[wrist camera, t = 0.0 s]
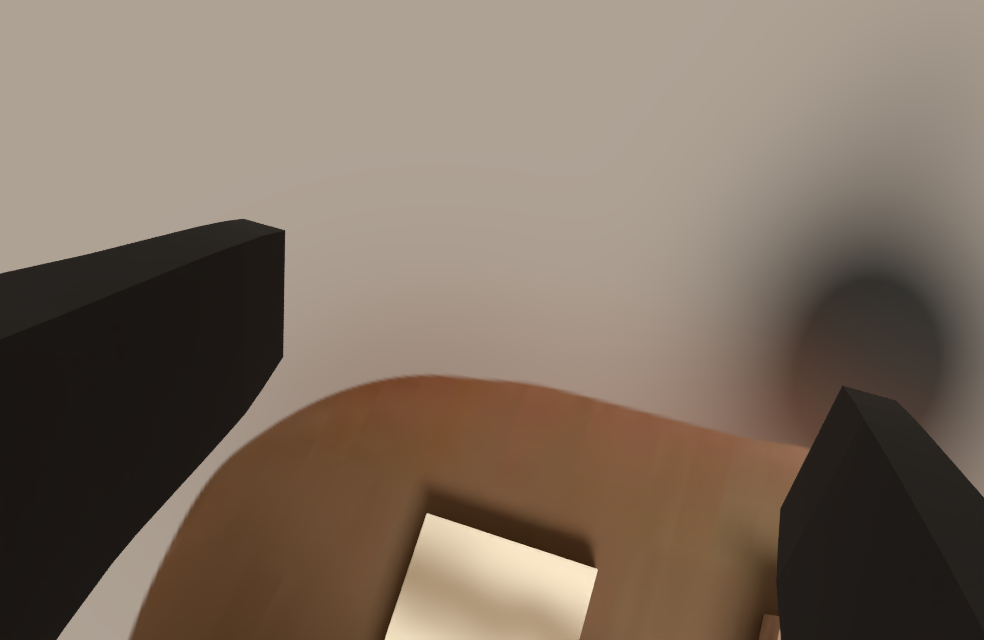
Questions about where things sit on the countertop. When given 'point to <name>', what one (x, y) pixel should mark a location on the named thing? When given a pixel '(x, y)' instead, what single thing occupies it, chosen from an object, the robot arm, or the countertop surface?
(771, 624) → the bar
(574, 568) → the cream block
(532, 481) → the countertop surface
